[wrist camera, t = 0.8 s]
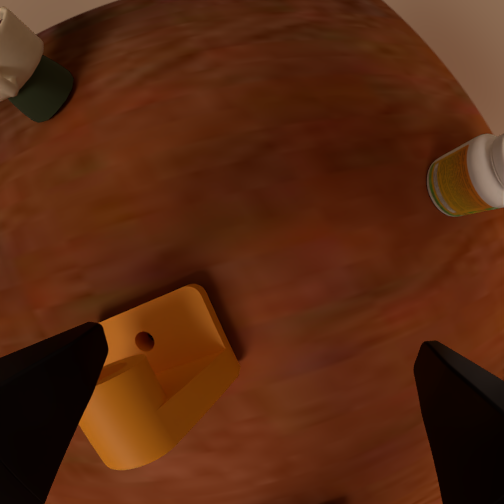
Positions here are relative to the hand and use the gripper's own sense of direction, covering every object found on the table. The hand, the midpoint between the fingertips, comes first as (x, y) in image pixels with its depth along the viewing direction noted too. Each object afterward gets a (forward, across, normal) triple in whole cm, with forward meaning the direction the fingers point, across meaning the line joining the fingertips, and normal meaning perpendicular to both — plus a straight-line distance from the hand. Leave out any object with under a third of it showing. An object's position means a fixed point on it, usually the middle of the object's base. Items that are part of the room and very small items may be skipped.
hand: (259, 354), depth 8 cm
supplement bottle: (+18, -16, -3) cm, 24 cm away
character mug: (+20, +23, -12) cm, 33 cm away
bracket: (+13, +8, +10) cm, 18 cm away
